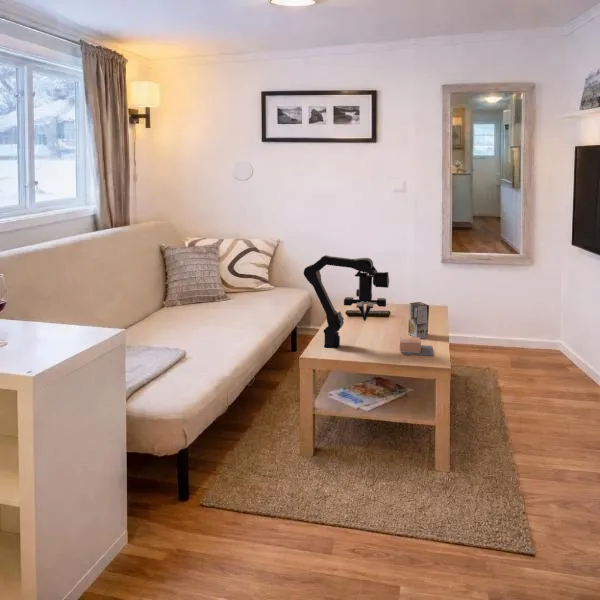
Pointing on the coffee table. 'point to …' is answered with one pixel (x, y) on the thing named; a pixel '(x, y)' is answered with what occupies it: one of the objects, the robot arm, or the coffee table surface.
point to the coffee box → (418, 319)
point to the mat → (422, 351)
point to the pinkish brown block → (410, 344)
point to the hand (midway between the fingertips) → (364, 320)
